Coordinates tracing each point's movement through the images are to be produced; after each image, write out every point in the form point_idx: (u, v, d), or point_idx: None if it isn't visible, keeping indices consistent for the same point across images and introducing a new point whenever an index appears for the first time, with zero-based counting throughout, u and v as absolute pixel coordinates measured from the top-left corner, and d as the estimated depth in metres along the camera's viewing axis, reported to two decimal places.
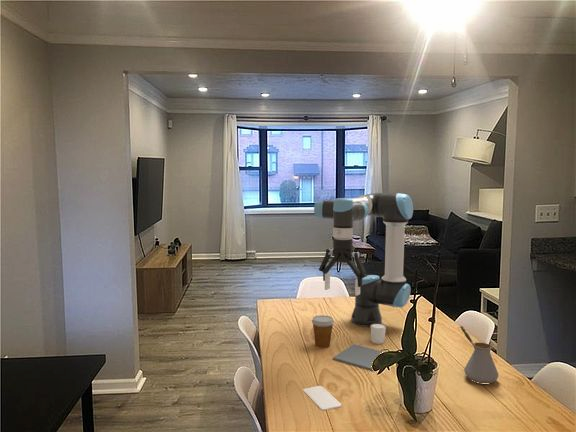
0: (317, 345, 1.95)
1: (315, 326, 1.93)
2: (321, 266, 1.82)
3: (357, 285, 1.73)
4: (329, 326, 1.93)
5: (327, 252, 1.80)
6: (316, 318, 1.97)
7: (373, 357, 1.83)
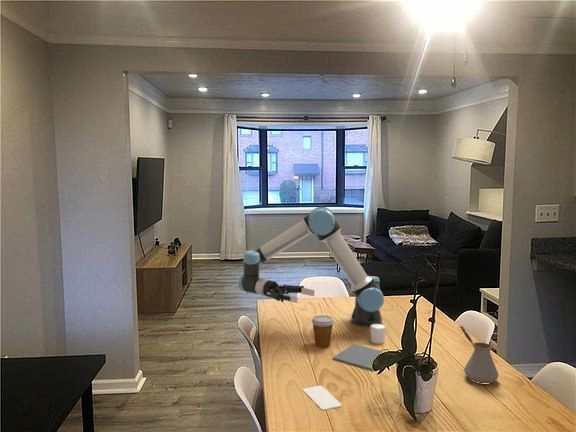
0: (317, 345, 1.95)
1: (315, 326, 1.93)
2: None
3: (289, 300, 1.96)
4: (329, 326, 1.93)
5: None
6: (316, 318, 1.97)
7: (373, 357, 1.83)
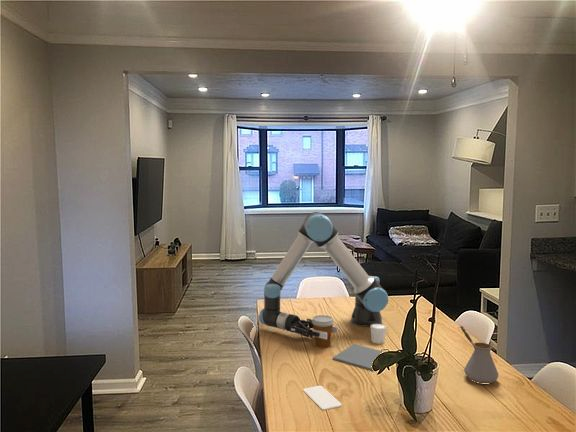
0: (317, 345, 1.95)
1: (315, 326, 1.93)
2: None
3: (318, 336, 1.92)
4: (329, 326, 1.93)
5: None
6: (316, 318, 1.97)
7: (373, 357, 1.83)
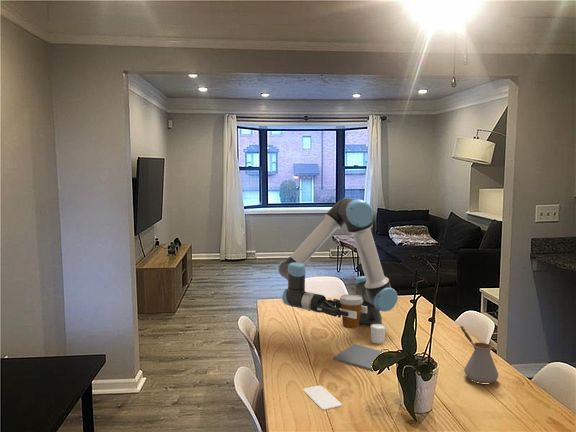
0: (345, 325, 1.83)
1: (343, 305, 1.82)
2: None
3: (347, 316, 1.81)
4: (358, 305, 1.81)
5: None
6: (344, 297, 1.85)
7: (373, 357, 1.83)
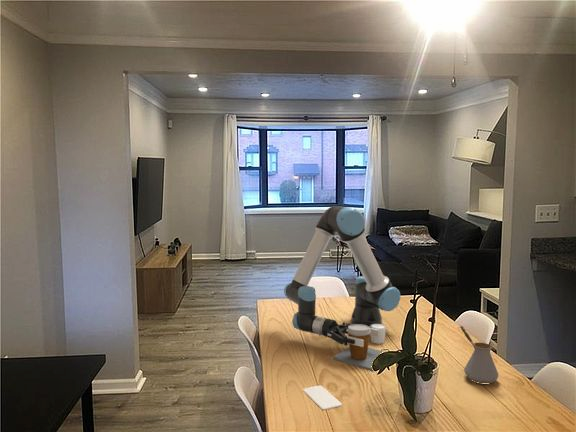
0: (353, 356, 1.81)
1: (351, 335, 1.80)
2: None
3: (353, 343, 1.78)
4: (366, 335, 1.79)
5: None
6: (351, 327, 1.83)
7: (373, 357, 1.83)
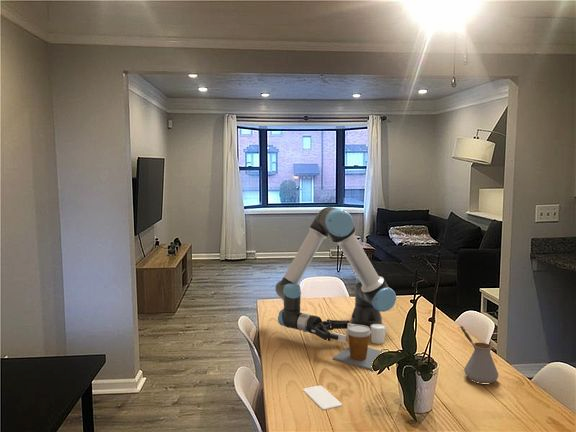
0: (352, 357, 1.81)
1: (350, 336, 1.79)
2: None
3: (336, 339, 1.82)
4: (366, 337, 1.78)
5: None
6: (351, 328, 1.83)
7: (373, 357, 1.83)
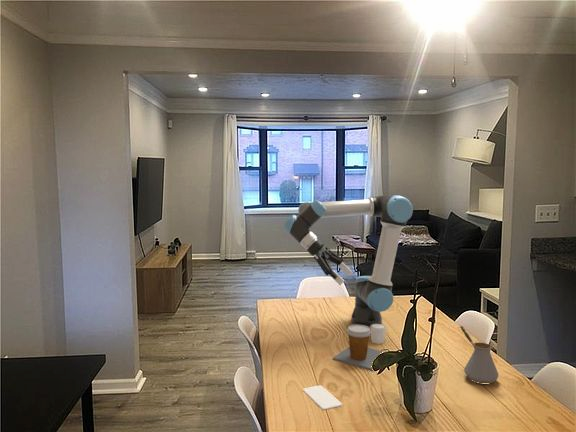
0: (352, 357, 1.81)
1: (350, 336, 1.79)
2: None
3: (333, 278, 1.94)
4: (366, 337, 1.78)
5: None
6: (352, 328, 1.83)
7: (373, 357, 1.83)
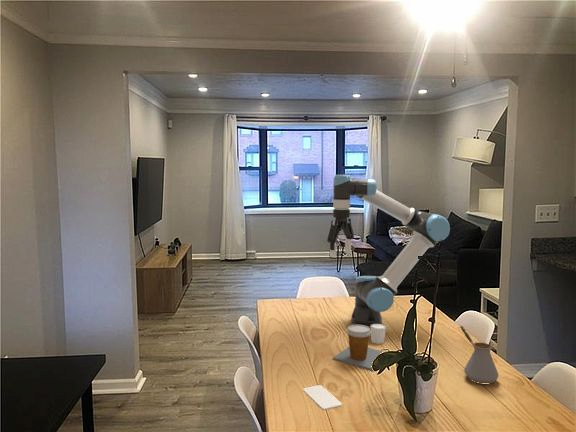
0: (352, 357, 1.81)
1: (350, 336, 1.79)
2: None
3: None
4: (366, 337, 1.78)
5: None
6: (352, 328, 1.83)
7: (373, 357, 1.83)
